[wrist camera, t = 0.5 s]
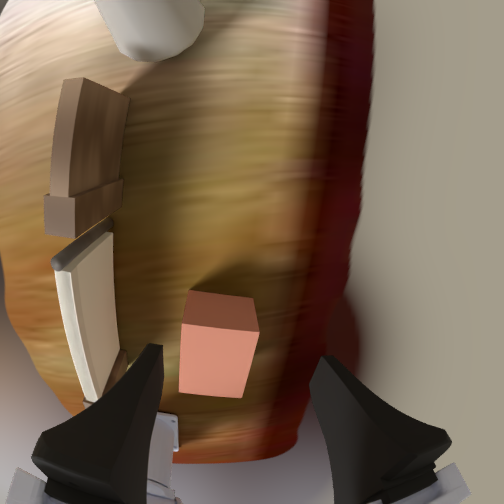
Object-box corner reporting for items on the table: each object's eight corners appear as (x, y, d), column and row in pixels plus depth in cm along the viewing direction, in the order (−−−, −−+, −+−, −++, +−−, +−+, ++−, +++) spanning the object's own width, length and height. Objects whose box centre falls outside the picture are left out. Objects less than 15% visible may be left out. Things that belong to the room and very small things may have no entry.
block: (238, 361, 24) (241, 398, 20) (183, 355, 23) (178, 392, 19) (252, 297, 22) (259, 332, 17) (188, 289, 21) (181, 323, 17)
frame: (128, 365, 23) (109, 426, 16) (109, 361, 23) (86, 419, 16) (135, 98, 15) (85, 74, 8) (109, 98, 15) (52, 78, 8)
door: (120, 348, 22) (99, 403, 16) (109, 346, 22) (86, 400, 15) (113, 232, 18) (70, 272, 12) (100, 231, 18) (54, 269, 12)
